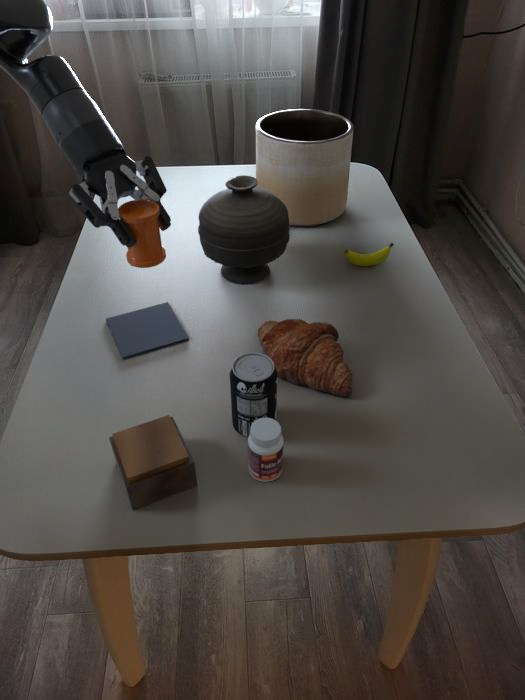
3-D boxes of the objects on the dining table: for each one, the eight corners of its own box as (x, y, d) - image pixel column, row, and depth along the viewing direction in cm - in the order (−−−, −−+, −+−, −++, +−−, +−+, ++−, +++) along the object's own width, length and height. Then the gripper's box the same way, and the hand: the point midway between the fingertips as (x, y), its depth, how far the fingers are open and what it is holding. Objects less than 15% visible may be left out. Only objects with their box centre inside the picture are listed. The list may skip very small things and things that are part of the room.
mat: (122, 359, 94) (122, 357, 94) (105, 320, 103) (105, 318, 102) (189, 340, 98) (189, 337, 98) (168, 303, 107) (167, 301, 106)
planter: (271, 183, 147) (271, 104, 134) (353, 194, 142) (362, 113, 129) (243, 221, 131) (240, 136, 118) (335, 236, 126) (343, 148, 113)
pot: (185, 286, 110) (181, 187, 98) (217, 249, 124) (217, 158, 112) (271, 304, 106) (278, 203, 94) (295, 263, 120) (303, 171, 108)
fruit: (388, 260, 118) (392, 240, 115) (391, 266, 116) (395, 245, 113) (341, 264, 117) (344, 243, 114) (344, 269, 116) (346, 248, 112)
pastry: (244, 390, 89) (243, 352, 84) (258, 330, 100) (258, 294, 95) (350, 401, 87) (356, 363, 82) (352, 338, 98) (357, 302, 93)
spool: (144, 272, 80) (135, 222, 75) (119, 258, 83) (109, 209, 78) (174, 256, 84) (167, 207, 78) (148, 243, 87) (141, 195, 81)
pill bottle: (263, 489, 75) (263, 449, 69) (241, 466, 77) (239, 426, 72) (289, 470, 77) (291, 430, 71) (267, 449, 80) (267, 409, 74)
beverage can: (257, 402, 87) (256, 343, 79) (285, 427, 83) (287, 368, 75) (223, 422, 84) (219, 363, 76) (251, 449, 80) (249, 390, 72)
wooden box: (132, 510, 72) (124, 483, 68) (115, 460, 78) (107, 432, 74) (197, 485, 75) (193, 457, 71) (176, 439, 81) (171, 411, 77)
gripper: (43, 133, 71) (118, 246, 73) (132, 104, 79) (197, 207, 81) (32, 162, 77) (101, 266, 79) (115, 133, 85) (176, 228, 87)
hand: (150, 236), depth 80 cm, fingers closed on spool, 6 cm apart
